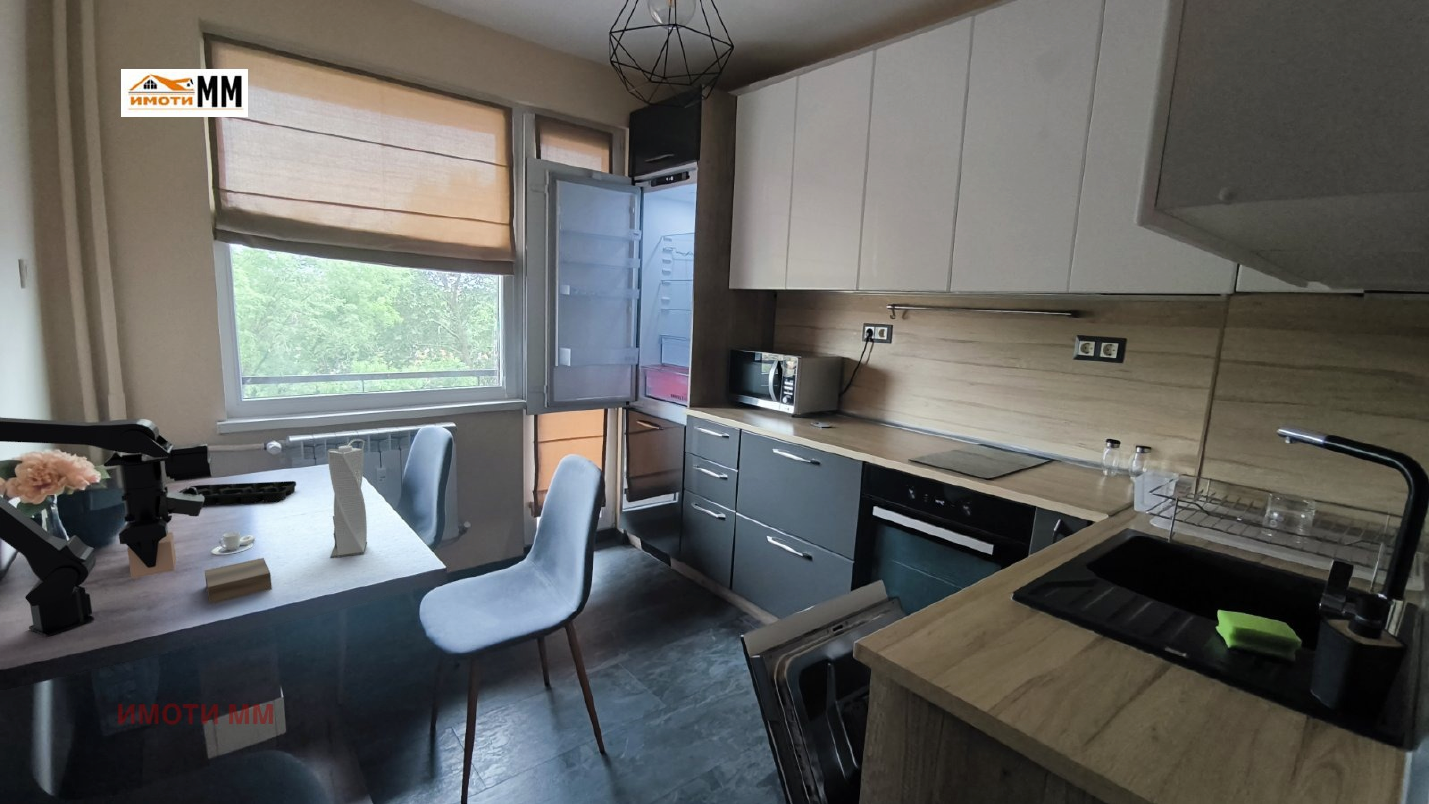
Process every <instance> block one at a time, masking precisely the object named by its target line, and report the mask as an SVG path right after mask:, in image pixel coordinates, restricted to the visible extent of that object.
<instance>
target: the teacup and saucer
mask: <svg viewBox="0 0 1429 804" xmlns="http://www.w3.org/2000/svg"><path fill="white" fill-rule="evenodd" d="M222 537H223V538H222ZM222 537H221V538H220V539H219V541H218V544H219V546H217V547H215V548H213V549H211V554H213V555H216V556H227V555H232V554H233V555H234V554H237V553H242V552H245V551H247V550H250V549H251V548H252V547H253V546H254V543H253V542H254V541H255V539H256V537H255V536H254V535H253V534H252V535H248V534H247V535H244V536H241V533H240V532H239V531H231V532H227V533H224V534H223V536H222ZM222 541H223V542H224V544H222ZM240 546H246V547H244V548H243V549H240V550H239V548H240ZM221 549H225V550H227V551H230V552H219V550H221ZM237 549H238V550H237ZM234 550H235V551H234ZM231 551H233V552H231Z"/></svg>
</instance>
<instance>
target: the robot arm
mask: <svg viewBox="0 0 1429 804" xmlns="http://www.w3.org/2000/svg"><path fill="white" fill-rule="evenodd" d="M0 442H4V443H5V442H7V443H26V444H27V443H29V444H30V443H31V444H53V445H54V444H55V445H59V444H60V445H76V446H77V445H82V446H83V445H84V446H88V447H89V446H90V447H94V448H99V449H101V450H102V449H103V450H106V451H111V452H114V453H112V456H111V457H110V458H108V459H107V460H106V461H105V462H104V463H103V466H104V467H107V468H108V467H118V466H119V472H120V473H119V474H120V480H121V488H122V494H121V501H122V502H124V509H125V515H124V516H123V517H124V523H126V524H125V525H124V526H123V527H122V528H121V529H120V531H119V533H118V538H119V539H118V540H119V544H120V545H126V546H127V548H128V547H129V548H130V549H131V550H132V551H133V552H134V553H135V554H136V555H137V556H138V557H139V558H140V559H141V561H142V562H143V563H144V564H145V565H146V566H147V567H148V568H151V567H155V566H156V560H157V552H158V544H159V541H160V540H162V539H163V538H164V537H166V536H167V534H168V533H169V530H168V523H170V522H171V521H172V518H173V515H172V514H177V515H184V516H185V515H187V516H189V517H199V516H200V513H201V511H202V508H203V506H202V505H203V503H204V498H205V497H204V496H202V495H201V494H200V495H198V493H197V489H196V488H194V487H190V486H186V487H185V488H183V489H184V490H183V489H182V490H183V491H182V492H181V493H179V491H176V492H173V491H172V492H171V491H169V488H168V485H166V484H164V476H163V475H164V474H163V469H162V462H164V471H165V475H166V478H169V479H170V480H174V482H181V481H188V480H189V481H191V480H201V479H207V478H208V479H209V478H213V475H214V474H213V473H214V469H213V460H212V459H213V457H212V456H211V453H210V449H209V444H208V443H200V444H196V445H189V446H178V447H176V446H175V445H174V444H173V443H171V441H169V440H168V439H166V438H165V437H164V436H163V435H161V434H160V430H159V428H158V426H157V424H155V423H154V422H153V421H152V420H149V419H146V418H128V419H127V418H126V419H125V418H124V419H113V420H107V421H96V422H95V421H94V422H93V421H92V422H88V421H85V422H84V421H70V420H69V421H68V420H51V419H50V420H49V419H35V418H34V419H33V418H18V417H17V418H16V417H14V418H13V417H1V416H0ZM128 521H132V522H131V523H127V522H128ZM0 539H1V540H2V541H3V542H5V543H6V544H8V545H9V546H10V547H12V548H13V549H14V550H15V551H17V552H18V553H19V554H21V555H22V556H24V557H25V559H26V561H27V563H28V565H29V567H30V568H31V571H32V573H34V575H35V576H36V577H37V578H38V581H37V582H36V583H35V584H34V585H33V587H32V588H31V589H30V590H29V591H28V593H27V594H26V595H25V600H26V601H27V602H28V603H29V606H30V612H31V619H32V625H30V626H28V630H30V631H32V632H35V633H37V634H40V635H42V636H44V637H50V636H53V635H55V634H58V633H61V632H64V631H67V630H69V629H72V628H75V627H78V626H80V625H84V624H86V623H88V622H92V621H94V620H95V616H92V613H93V608H92V603H91V602H92V600H91V595H90V593H88V592H86V588H85V587H83V586H81V585H82V584H83V583H85V581H86V580H87V578H88V577H89V575H90V573H92V570H93V569H94V568H95V566H96V561H97V557H96V555H95V554H94V553H93V552H94V550H95V547H91V546H89V545H87V544H85V543H84V542H83V541H82V539H80V537H79V536H77V535H73V536H71V537H70V538H69V539H63V538H60V537H57V536H55V535H52V534H51V533H50V532H48V531H47V530H46V529H45V528H44V527H42V526H41V525H40V524H39V523H37V522H36V521H34V520H33V519H32V518H31V517H29V516H28V515H26V514H25V513H23V512H22V511H21V510H19V509H18V508H17V507H15V506H14V505H13V504H11V502H9V501H8V500H7V499H5V498H4V497H2V496H1V495H0Z"/></svg>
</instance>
